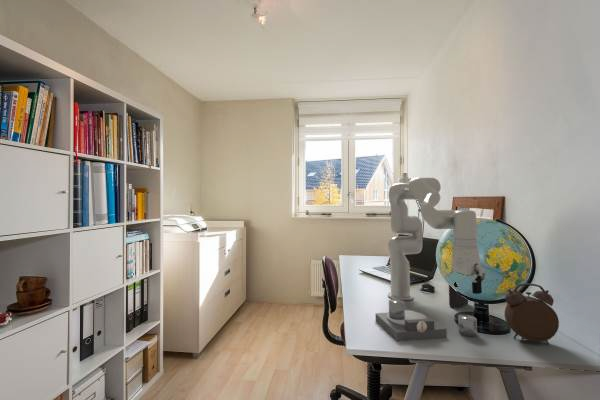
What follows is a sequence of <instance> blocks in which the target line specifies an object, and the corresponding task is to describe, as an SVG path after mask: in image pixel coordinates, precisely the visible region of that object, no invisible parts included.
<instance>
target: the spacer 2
mask: <svg viewBox="0 0 600 400" xmlns="http://www.w3.org/2000/svg"><path fill="white" fill-rule="evenodd" d="M457 321H458V322H457V325H458V326H457V327H458V328H457V329H458V334H460V335H461V336H462V337H467V338H476V337H478V324H477V321H478V319H477V318H476V317H475V316H473V315H469V314H459V315H457Z"/></svg>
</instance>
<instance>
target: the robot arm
mask: <svg viewBox="0 0 600 400" xmlns="http://www.w3.org/2000/svg"><path fill="white" fill-rule="evenodd" d="M440 191H441V183H440V182H439V179H437V178H435V177H413V178H411V180H409V182H398V183H396V182H395V183H393V184H392V185H391V186H390V187H389V190H388V200H389V204H390V228H391V231H392V233H394V234H396V235H397V234H398V236H393V237H391V238H390V239H388V243H387V247H388V251H389V261H390V263H389V264H390V265H389V266H390V287H389V288H390V292H388V293H387V297H389V298H390V299H391V300H392V299H398V300H402V301H411V300H414V295H413V294H412V293H411V277H410V275H411V274H410V273H411V272H410V268H411V266H410V261H409V260H408V259H407V257H406V255H417V254H420V253H421V252H422V250H423V223H422V220H421V219H420V217H419V216H416V215H409V207H408V204H407V203H406V202H405V200H413V201H414V200H415V201H416V200H417V201H418V202H419V204H420V213H421V214H420V215H421V217H422V219H423V220H424V222H425V223H427V225H429V227H431V228H433V229H435V230H453V247H452V255H451V263H452V268H451V269H452V270H453V271H454V272H456V273H459V274H462V275H466V276H469V277H470V278H471V279H472V282H471V289H472V290H471V291H472V294H473V295H474V294H475V295H478V294H479V295H480V294H482V283H483V281H484V280H485V277H486V273H487V271H486V270H485V269H484V268H482V266H481V258H480V252H479V248H478V230H477V213H476V211H474V210H466V209H465V210H458V209H457V210H456V209H436V206H437V205H438V204H439V203H440V200H441V195H440ZM408 234H409V236H408ZM399 235H404V236H399ZM452 270H451V271H452ZM454 286H455V287H458V286H457V284H456V282H455V283H454Z"/></svg>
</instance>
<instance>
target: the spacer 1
mask: <svg viewBox="0 0 600 400" xmlns="http://www.w3.org/2000/svg"><path fill="white" fill-rule="evenodd" d="M405 310H406V302H405V300H398V299H392V298H391V299H389V300H388V312H389V317H390V318H391V319H395V320H403V319H405Z"/></svg>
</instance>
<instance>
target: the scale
mask: <svg viewBox="0 0 600 400" xmlns="http://www.w3.org/2000/svg"><path fill="white" fill-rule="evenodd" d="M375 322H376V323H378V324H379V326H380V327H382V328H383V329H384V330H385V331H386V332H387V333H388V335H390V336H391V337H392V338H393V339H394V340H395V341H396V342H403V341H405V342H406V341H414V340H415V341H416V340H427V339H429V340H431V339H440V338H441V339H442V338H448V337H447V328H446V327H444V326H443V325H441V324H439V323H438V322H437V321H435V320H434V319H432V318H430V317H429V316H427V315H425V314H424V313H422V311H421V312H420V311H419V310H407V309H405V319H403V320H395V319H391V318H390V317H389V311H388V312H377V313H375Z"/></svg>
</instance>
